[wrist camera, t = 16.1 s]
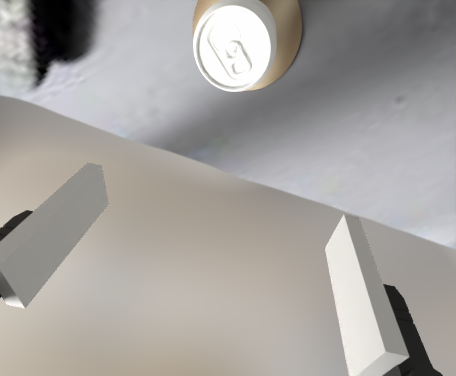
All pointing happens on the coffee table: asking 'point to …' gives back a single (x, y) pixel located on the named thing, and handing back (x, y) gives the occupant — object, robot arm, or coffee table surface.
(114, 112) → the coffee table surface
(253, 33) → the beverage can
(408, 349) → the robot arm
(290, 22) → the cork coaster
